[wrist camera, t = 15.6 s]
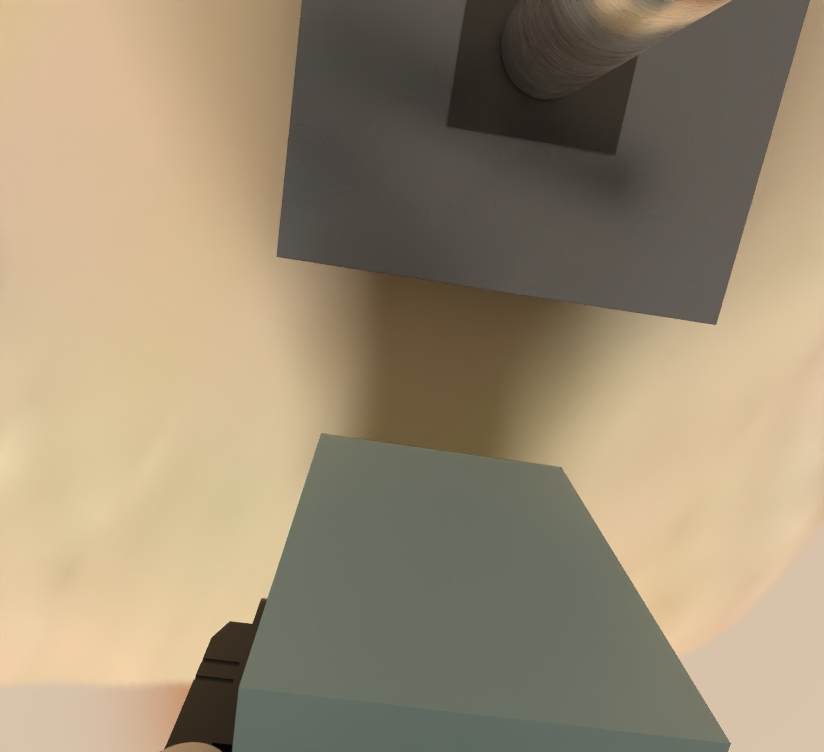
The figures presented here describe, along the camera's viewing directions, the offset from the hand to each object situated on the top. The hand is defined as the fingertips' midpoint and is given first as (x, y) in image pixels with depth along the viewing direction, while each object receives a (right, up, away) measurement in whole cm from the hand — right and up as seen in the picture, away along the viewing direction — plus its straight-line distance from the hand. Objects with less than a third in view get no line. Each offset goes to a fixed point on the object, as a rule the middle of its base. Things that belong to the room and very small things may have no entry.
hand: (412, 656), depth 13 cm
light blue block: (0, 0, +1) cm, 1 cm away
